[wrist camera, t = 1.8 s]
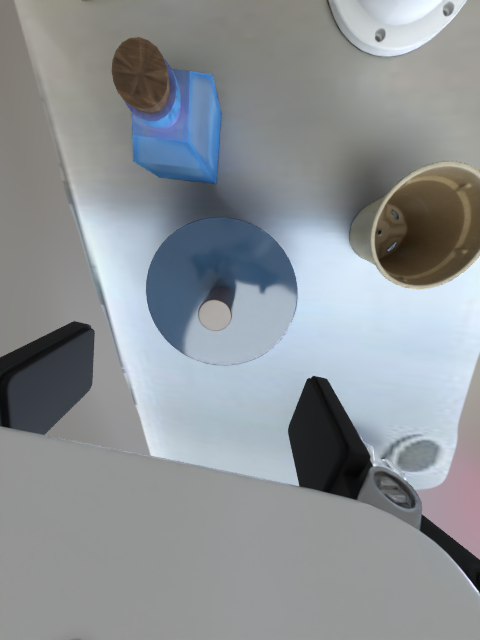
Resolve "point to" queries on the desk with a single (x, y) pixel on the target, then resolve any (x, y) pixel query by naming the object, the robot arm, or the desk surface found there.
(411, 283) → the flower pot
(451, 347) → the desk surface
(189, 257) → the lid
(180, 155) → the perfume bottle
